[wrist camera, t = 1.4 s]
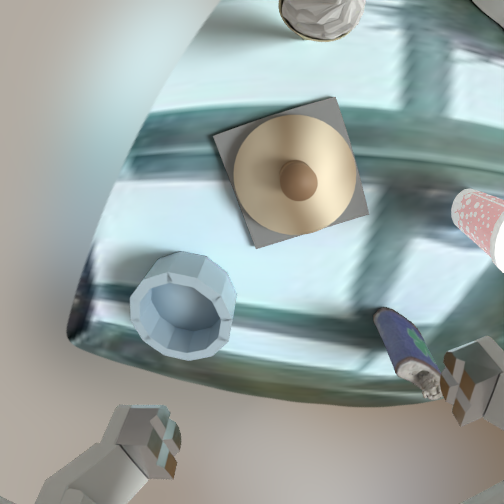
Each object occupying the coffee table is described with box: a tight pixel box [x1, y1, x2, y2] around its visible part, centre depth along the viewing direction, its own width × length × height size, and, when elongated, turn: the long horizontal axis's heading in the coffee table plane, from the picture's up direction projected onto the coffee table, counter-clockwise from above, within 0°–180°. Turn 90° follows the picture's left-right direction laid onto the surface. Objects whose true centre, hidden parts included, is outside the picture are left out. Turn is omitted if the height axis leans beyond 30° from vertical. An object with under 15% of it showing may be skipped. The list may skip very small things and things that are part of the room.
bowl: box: [130, 251, 237, 361], centre depth 31 cm, size 10×10×4 cm
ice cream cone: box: [279, 0, 366, 42], centre depth 16 cm, size 5×5×15 cm
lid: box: [233, 115, 356, 235], centre depth 25 cm, size 10×10×4 cm
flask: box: [373, 307, 443, 400], centre depth 29 cm, size 9×3×11 cm, turn 51°
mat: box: [213, 97, 369, 249], centre depth 27 cm, size 11×11×1 cm
